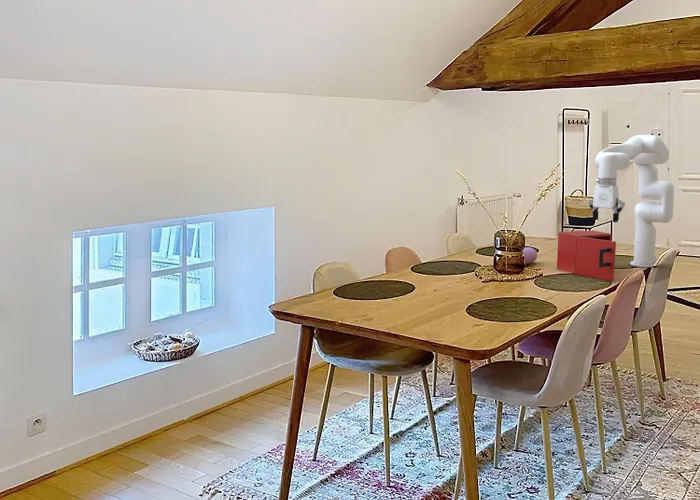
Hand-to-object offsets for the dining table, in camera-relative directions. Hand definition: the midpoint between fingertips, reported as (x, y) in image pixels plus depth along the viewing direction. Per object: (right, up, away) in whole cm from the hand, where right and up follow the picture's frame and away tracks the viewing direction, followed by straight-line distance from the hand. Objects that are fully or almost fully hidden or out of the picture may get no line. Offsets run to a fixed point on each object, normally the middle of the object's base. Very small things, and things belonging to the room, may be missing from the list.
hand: (605, 220), depth 313 cm
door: (-4, -26, +9) cm, 27 cm away
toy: (-25, -20, +44) cm, 54 cm away
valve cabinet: (0, -22, +29) cm, 37 cm away
